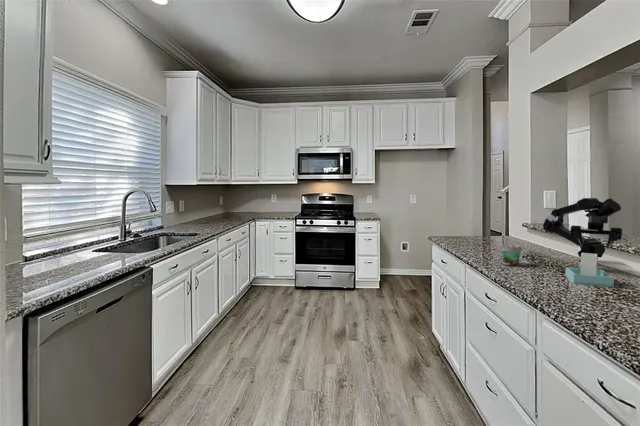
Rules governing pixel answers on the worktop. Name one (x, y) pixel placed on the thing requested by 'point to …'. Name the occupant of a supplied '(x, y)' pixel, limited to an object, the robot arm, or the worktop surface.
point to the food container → (511, 255)
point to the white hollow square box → (588, 264)
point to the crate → (589, 278)
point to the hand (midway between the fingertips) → (594, 246)
